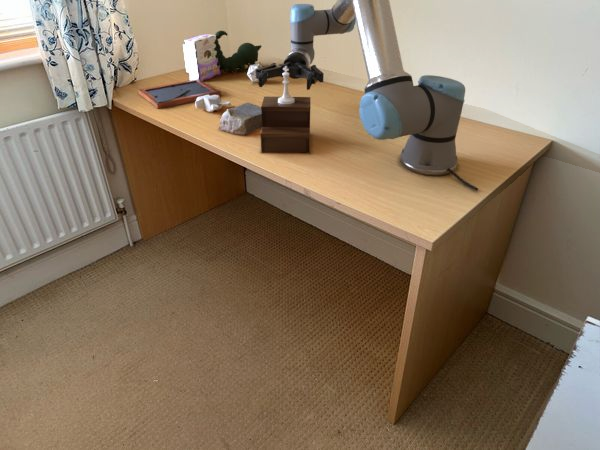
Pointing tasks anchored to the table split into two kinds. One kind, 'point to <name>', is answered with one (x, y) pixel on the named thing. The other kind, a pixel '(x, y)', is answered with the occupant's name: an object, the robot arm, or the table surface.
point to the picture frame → (177, 93)
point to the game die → (253, 72)
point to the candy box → (202, 57)
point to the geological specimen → (242, 119)
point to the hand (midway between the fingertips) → (283, 83)
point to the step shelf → (285, 126)
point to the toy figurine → (236, 55)
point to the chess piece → (286, 89)
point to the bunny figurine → (210, 103)
